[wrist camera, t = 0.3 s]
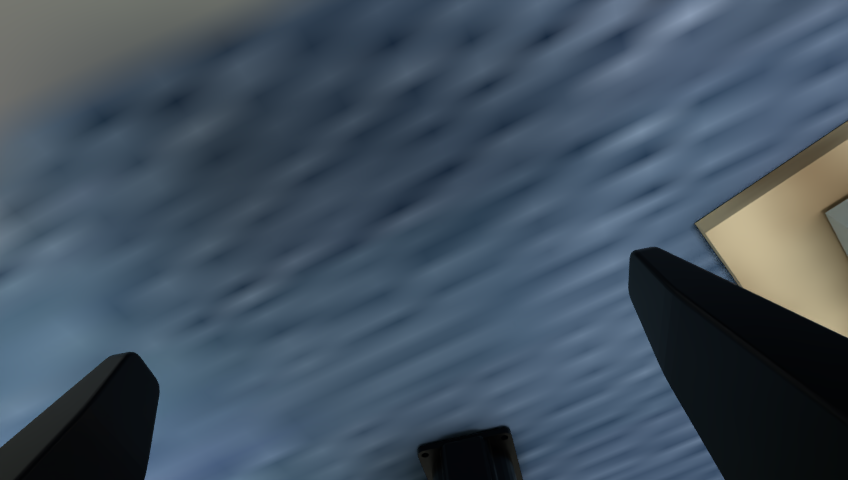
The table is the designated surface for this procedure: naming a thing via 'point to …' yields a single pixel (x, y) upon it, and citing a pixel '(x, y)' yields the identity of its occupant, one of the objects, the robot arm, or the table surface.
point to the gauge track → (790, 234)
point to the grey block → (840, 222)
